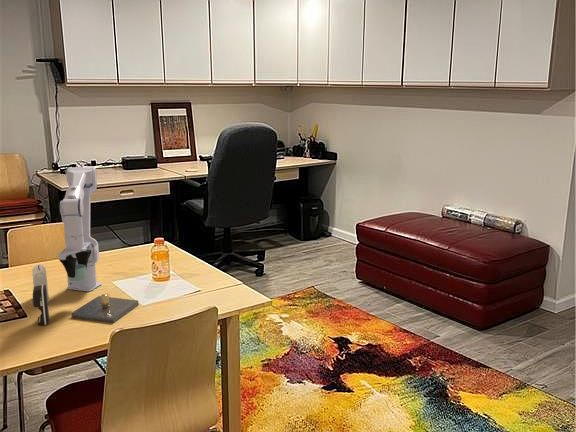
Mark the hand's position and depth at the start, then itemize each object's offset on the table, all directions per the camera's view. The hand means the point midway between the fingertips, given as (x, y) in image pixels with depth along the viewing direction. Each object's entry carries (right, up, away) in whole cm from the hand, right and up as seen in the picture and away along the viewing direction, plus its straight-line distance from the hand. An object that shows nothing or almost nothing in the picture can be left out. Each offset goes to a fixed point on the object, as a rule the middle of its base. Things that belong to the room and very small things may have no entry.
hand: (77, 274), depth 181 cm
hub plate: (+11, -12, -3) cm, 16 cm away
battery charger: (-6, -14, -12) cm, 19 cm away
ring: (0, -1, 0) cm, 1 cm away
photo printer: (-14, -10, +5) cm, 18 cm away
